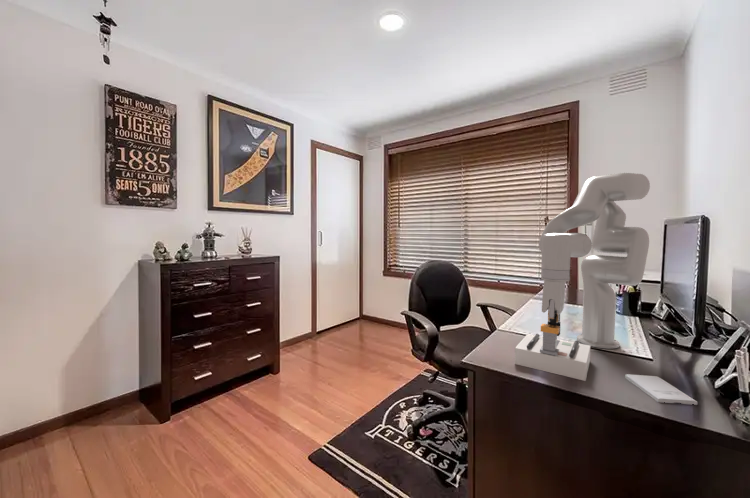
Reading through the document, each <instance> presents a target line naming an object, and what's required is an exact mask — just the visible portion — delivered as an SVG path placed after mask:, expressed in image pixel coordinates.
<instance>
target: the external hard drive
mask: <svg viewBox="0 0 750 498" xmlns="http://www.w3.org/2000/svg"><path fill="white" fill-rule="evenodd" d="M624 375H625V376H624V378H625V379H626V380H627V381H628V382H629V383H632V384H633V385H634V386H636V387H637V388H638V389H640V390H641V391H642V392H643V393H645V394H646V395H648V396H649V397H650V398H652V399H653V400H655V401H656V402H657V403H664V402H665V403H668V404H680V403H681V404H683V405H692V404H694V405H695V406H697V405H698V401H697V400H695V399H693V397H692V396H691V397H690V396H689V395H688V394H687V393H684V392H683V391H681V390H679V388H677V387H676V386H674V385H672V384H671V383H669V382H667V381H666V380H664V379H663V378H661V377H660V376H656V375H646V374H645V375H644V374H641V375H640V374H629V373H628V374H627V373H626V374H624ZM694 405H693V406H694Z"/></svg>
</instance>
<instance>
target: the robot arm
mask: <svg viewBox="0 0 750 498" xmlns="http://www.w3.org/2000/svg"><path fill="white" fill-rule="evenodd" d="M650 188H651V186H650V180H649V178H648V177H647V176H646V175H645V174H643V173H634V172H633V173H632V172H619V173H613V174H612V173H611V174H604V175H596V176H592V177H590V178H588V179H586V181H584V183H583V185H582V186H581V188H580V190H579V192H578V193H577V196H576V198H575V199H574V202H573V204H572V206H570V207H569V208H567V209H565V210H563V211H562V212H561V213H559V214H557V215H556V216H555V217H553V218H552V219H551V220H550V221H548V223H547V224H546V226H545V227H544V229H543V231H542V233H541V235H540V238H539V240H538V241H539V242H538V248H539V250H540V252H541V265H540V266H541V269H540V271H541V272H540V279H541V280H542V281H543V286H542V299H541V301H542V302H541V312H542V313H543V314H544V313H546V312H547V324H548V325H554V326H560V327H561V313H562V312H563V311H564V308H565V300H566V299H565V297H566V282H570V280H571V258H583V257H585V256H587V255H588V254H589V253H590V252H591V250H592V249H593V251H595V252H597V253H601V254H600V255H599V254H596V255H588V256H587V257H585V258H583V260H582V261H581V264H580V270H581V271H580V273H581V277H582V284H583V286H582V288H583V297H582V319H581V321H582V323H581V327H582V328H581V334H578V335H576V341H578V342H579V344H584V345H590V347H593V348H597V349H605V350H606V349H607V350H612V349H613V350H615V349H618V348H620V346H621V345H620V344H621V343H620V341H618V340H616V338H615V329H616V305H617V295H616V293H615V291H614V289H613V288H612V286H611V285H612V284H614V285H623V286H637V285H639V284H640V283H641V282H642V280H643V278H644V273H645V269H646V264H647V257H648V253H649V247H650V237H649V236H650V235H649V233H648V231H647V230H646V229H645V228H643V227H639V226H626V221H627V220H626V219H627V215H626V212H625V211H624V210H623V208H621V207H620V206H619V205H618V204H617V202H620V201H621V202H623V201H633V200H643V199H644V198H645V197H647V196H648V193H649V191H650ZM593 222H595V225H594V230H593V235H592V238H590V237H589V235H586V234H584V233H582V232H567V231H570V230H572V229H576V228H580V227H583V226H585V225H588V224H591V223H593ZM602 254H609V255H602ZM611 254H613V255H611ZM615 255H617V256H615ZM618 255H626V256H618ZM610 284H611V285H610ZM560 335H561V331H560V332H559V334H557V337H560Z"/></svg>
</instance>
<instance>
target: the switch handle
mask: <svg viewBox="0 0 750 498" xmlns="http://www.w3.org/2000/svg"><path fill="white" fill-rule="evenodd" d="M540 332H542V337H543V346H542V347H541V349H540V353H545V354H550V355H555V356H557V355H558V353H559V349H557V340H558V336H557V334H559V332H560V333H561V325H560V326H554V325H548V323H547V324H546V323H542V324H541V325H540Z"/></svg>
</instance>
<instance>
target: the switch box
mask: <svg viewBox="0 0 750 498" xmlns="http://www.w3.org/2000/svg"><path fill="white" fill-rule="evenodd" d="M542 346H543V336H540V334H539V333H536V334H535V335H533V334H528V333H527V334H526V335H525V336H524V337H523V338H522V340H521V341H520V342H519V343H518V344H517V345H516V346H515V347H514V349H515V350H514V365H518V366H522V367H525V368H526V367H527V368H530V369H535V370H538V371H543V372H547V373H551V374H555V375H558V376H559V375H560V376H563V377H568V378H571V379H576V380H580V381H584V382H586V381H587V375H588V372H589V367H590V361H591V346H590V345H585V344H583V343H580V342H579V341H578V340H575V341H574V342H573V341H567V340H562V339H557V349H559V353H558V355H557V356H555V355H550V354H545V353H540V349H541V347H542Z"/></svg>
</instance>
